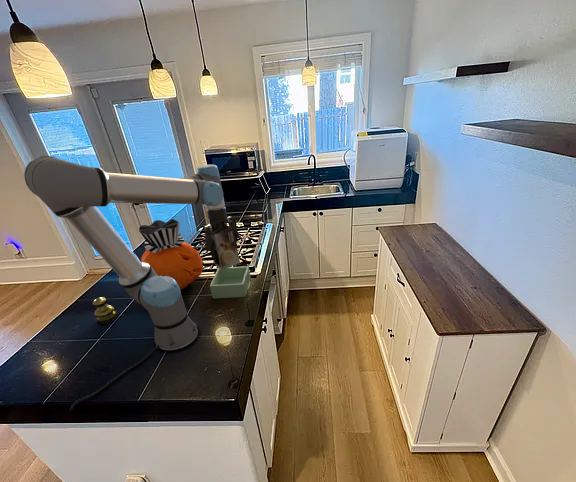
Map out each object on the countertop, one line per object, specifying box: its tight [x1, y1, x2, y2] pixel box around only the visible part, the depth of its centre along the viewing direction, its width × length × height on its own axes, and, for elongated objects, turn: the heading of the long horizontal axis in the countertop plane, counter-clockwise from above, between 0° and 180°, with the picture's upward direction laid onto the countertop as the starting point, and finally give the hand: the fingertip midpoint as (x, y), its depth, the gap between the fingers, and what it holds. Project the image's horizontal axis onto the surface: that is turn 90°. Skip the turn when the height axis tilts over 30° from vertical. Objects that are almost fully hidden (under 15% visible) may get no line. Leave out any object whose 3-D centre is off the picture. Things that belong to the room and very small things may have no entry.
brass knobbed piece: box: [92, 297, 118, 325], centre depth 127 cm, size 7×7×10 cm
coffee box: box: [211, 225, 241, 270], centre depth 133 cm, size 9×6×16 cm
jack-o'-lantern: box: [138, 218, 204, 291], centre depth 142 cm, size 27×26×30 cm
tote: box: [209, 265, 252, 299], centre depth 142 cm, size 17×15×6 cm
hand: (226, 259), depth 136 cm, fingers closed on coffee box, 9 cm apart
